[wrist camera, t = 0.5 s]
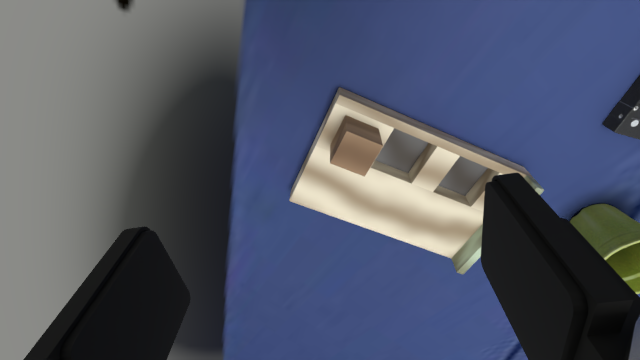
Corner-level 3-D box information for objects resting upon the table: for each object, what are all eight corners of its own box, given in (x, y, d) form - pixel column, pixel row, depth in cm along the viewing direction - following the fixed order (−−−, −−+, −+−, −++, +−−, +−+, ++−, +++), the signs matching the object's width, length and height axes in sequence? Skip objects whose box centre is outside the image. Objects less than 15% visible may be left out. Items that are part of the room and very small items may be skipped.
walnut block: (345, 114, 38) (346, 131, 34) (378, 128, 38) (383, 145, 35) (330, 145, 40) (329, 163, 36) (362, 157, 40) (364, 176, 37)
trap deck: (339, 86, 38) (339, 103, 34) (523, 167, 43) (544, 190, 39) (291, 189, 46) (287, 213, 42) (452, 247, 51) (463, 274, 47)
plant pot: (553, 203, 46) (594, 250, 39) (634, 183, 44) (694, 229, 37) (555, 252, 51) (591, 302, 44) (628, 236, 49) (679, 286, 42)
